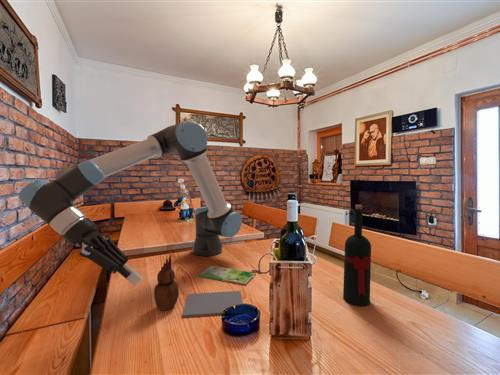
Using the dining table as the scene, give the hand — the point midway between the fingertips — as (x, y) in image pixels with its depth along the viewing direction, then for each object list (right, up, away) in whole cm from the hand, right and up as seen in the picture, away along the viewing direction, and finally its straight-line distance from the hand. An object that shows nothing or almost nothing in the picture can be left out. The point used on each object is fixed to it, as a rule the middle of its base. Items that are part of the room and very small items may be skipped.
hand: (138, 281), depth 71 cm
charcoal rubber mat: (+21, -8, +3) cm, 23 cm away
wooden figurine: (+8, -8, +1) cm, 11 cm away
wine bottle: (+66, -8, +5) cm, 66 cm away
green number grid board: (+24, -8, +24) cm, 34 cm away
